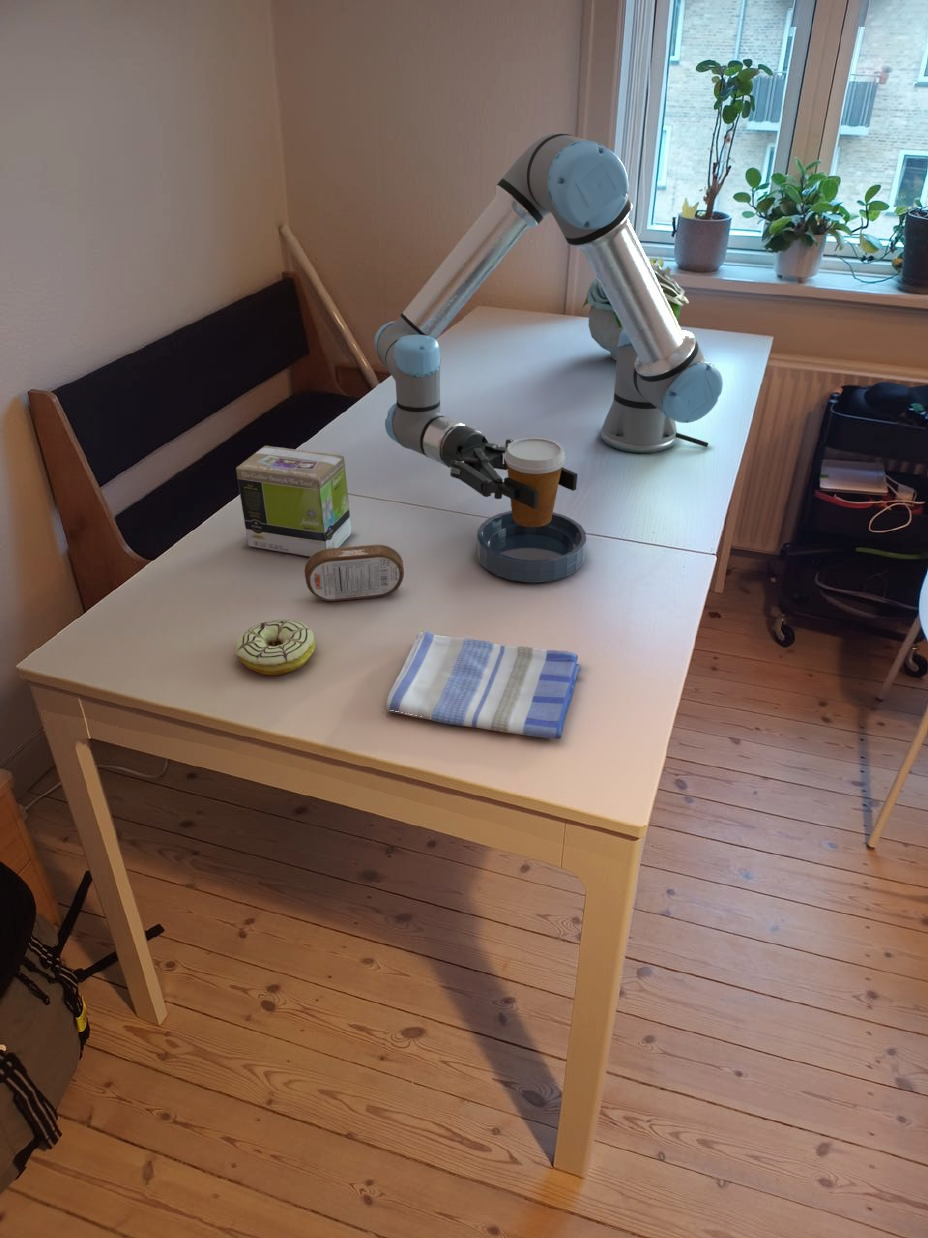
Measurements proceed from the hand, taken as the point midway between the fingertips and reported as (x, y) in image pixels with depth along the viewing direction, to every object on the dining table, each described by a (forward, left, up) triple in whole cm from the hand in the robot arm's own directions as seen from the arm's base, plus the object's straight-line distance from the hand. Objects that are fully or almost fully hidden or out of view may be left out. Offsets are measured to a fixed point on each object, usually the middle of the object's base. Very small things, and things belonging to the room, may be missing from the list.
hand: (555, 490), depth 144 cm
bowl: (+3, -3, -14) cm, 15 cm away
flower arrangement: (-23, -102, -14) cm, 106 cm away
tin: (+30, +10, -14) cm, 35 cm away
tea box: (+42, -7, -14) cm, 45 cm away
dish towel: (+10, +32, -14) cm, 36 cm away
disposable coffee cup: (+3, -3, -7) cm, 8 cm away
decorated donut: (+39, +26, -14) cm, 49 cm away
